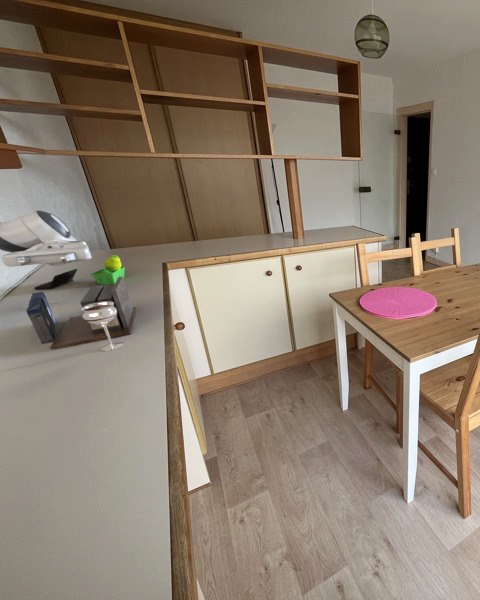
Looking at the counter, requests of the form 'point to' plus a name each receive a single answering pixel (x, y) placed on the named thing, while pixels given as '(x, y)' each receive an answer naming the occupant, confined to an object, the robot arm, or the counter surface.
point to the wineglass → (101, 319)
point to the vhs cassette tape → (42, 317)
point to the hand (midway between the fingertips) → (43, 261)
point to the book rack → (85, 332)
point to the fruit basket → (110, 271)
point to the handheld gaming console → (58, 280)
